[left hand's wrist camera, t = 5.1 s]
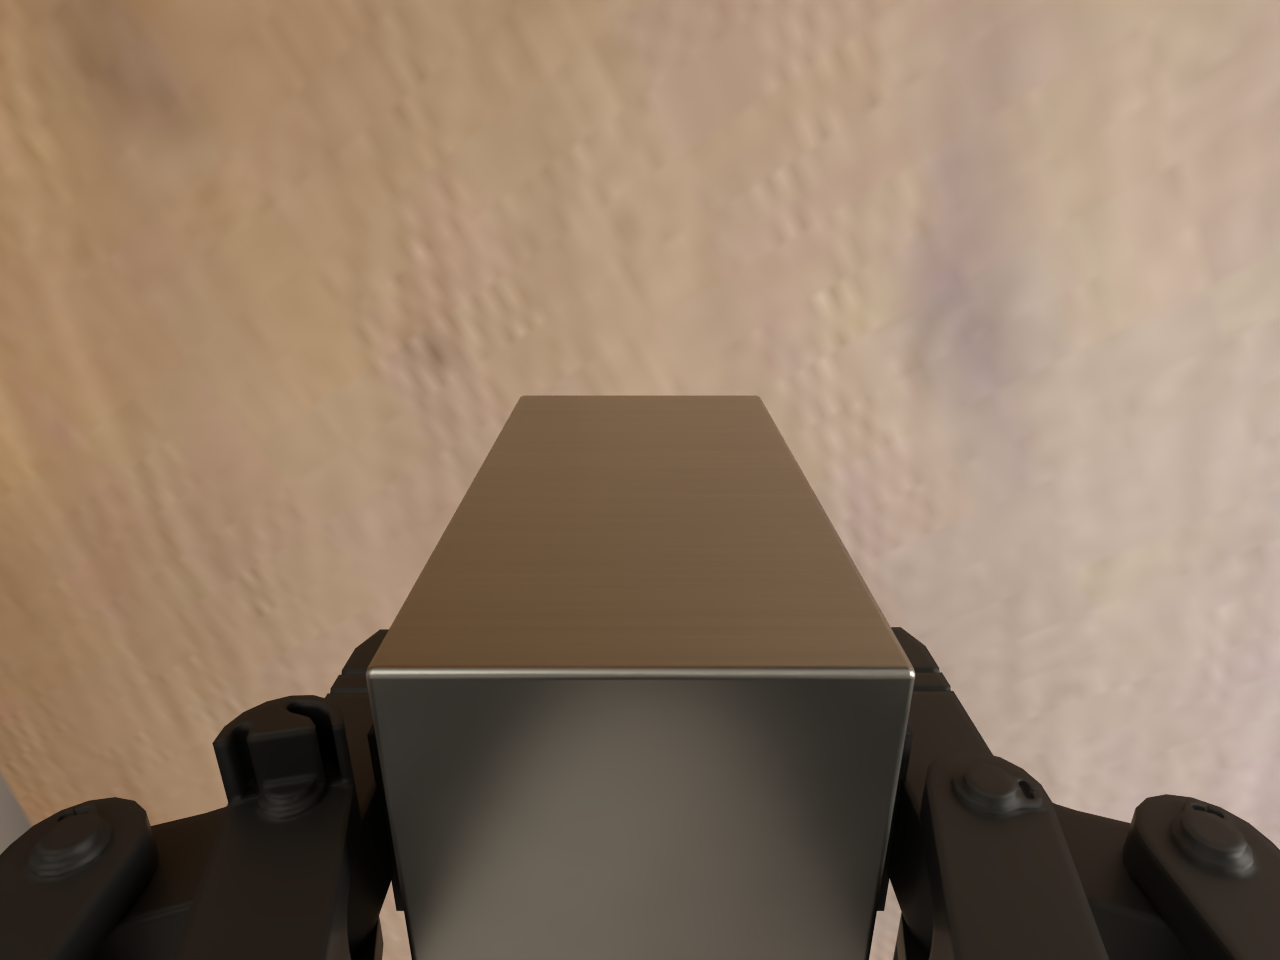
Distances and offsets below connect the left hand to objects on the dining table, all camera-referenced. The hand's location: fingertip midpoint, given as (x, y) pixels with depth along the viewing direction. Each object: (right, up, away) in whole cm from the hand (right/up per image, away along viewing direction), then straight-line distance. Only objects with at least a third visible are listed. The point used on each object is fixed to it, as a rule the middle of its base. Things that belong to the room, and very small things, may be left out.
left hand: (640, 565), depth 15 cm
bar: (0, -8, +4) cm, 9 cm away
